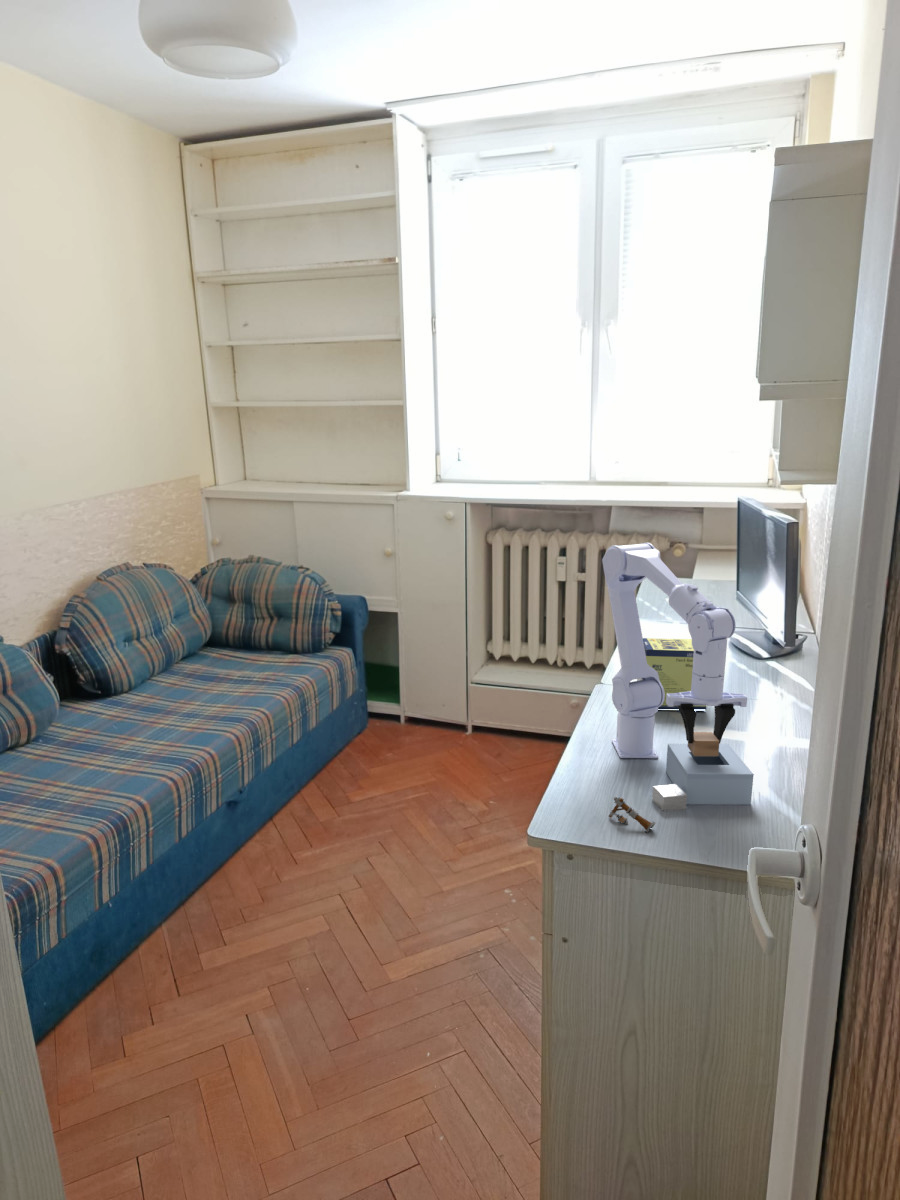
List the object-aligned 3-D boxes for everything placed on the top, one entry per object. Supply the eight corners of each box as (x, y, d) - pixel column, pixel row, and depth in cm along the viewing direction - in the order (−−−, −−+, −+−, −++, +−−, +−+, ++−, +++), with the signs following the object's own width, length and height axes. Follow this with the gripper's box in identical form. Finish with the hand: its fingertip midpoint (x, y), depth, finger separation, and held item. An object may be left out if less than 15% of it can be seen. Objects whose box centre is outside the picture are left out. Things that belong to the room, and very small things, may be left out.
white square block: (652, 800, 151) (653, 786, 151) (674, 798, 152) (675, 783, 152) (662, 812, 147) (663, 797, 146) (686, 810, 148) (687, 794, 147)
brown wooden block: (687, 746, 157) (688, 731, 156) (711, 746, 157) (712, 732, 156) (694, 756, 152) (695, 740, 152) (718, 756, 152) (719, 741, 152)
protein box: (707, 712, 196) (712, 650, 192) (641, 711, 197) (645, 649, 193) (697, 698, 206) (701, 638, 202) (634, 696, 207) (638, 637, 203)
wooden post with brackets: (607, 810, 146) (618, 792, 144) (644, 840, 142) (656, 821, 140) (602, 814, 144) (613, 795, 142) (640, 844, 141) (651, 825, 138)
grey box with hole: (665, 771, 163) (667, 743, 162) (725, 771, 163) (728, 743, 162) (685, 804, 150) (687, 774, 148) (750, 804, 150) (753, 774, 148)
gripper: (674, 679, 147) (670, 749, 150) (755, 679, 147) (748, 750, 150) (665, 667, 154) (660, 734, 157) (741, 668, 154) (736, 735, 157)
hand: (703, 741), depth 154 cm, fingers closed on brown wooden block, 4 cm apart
